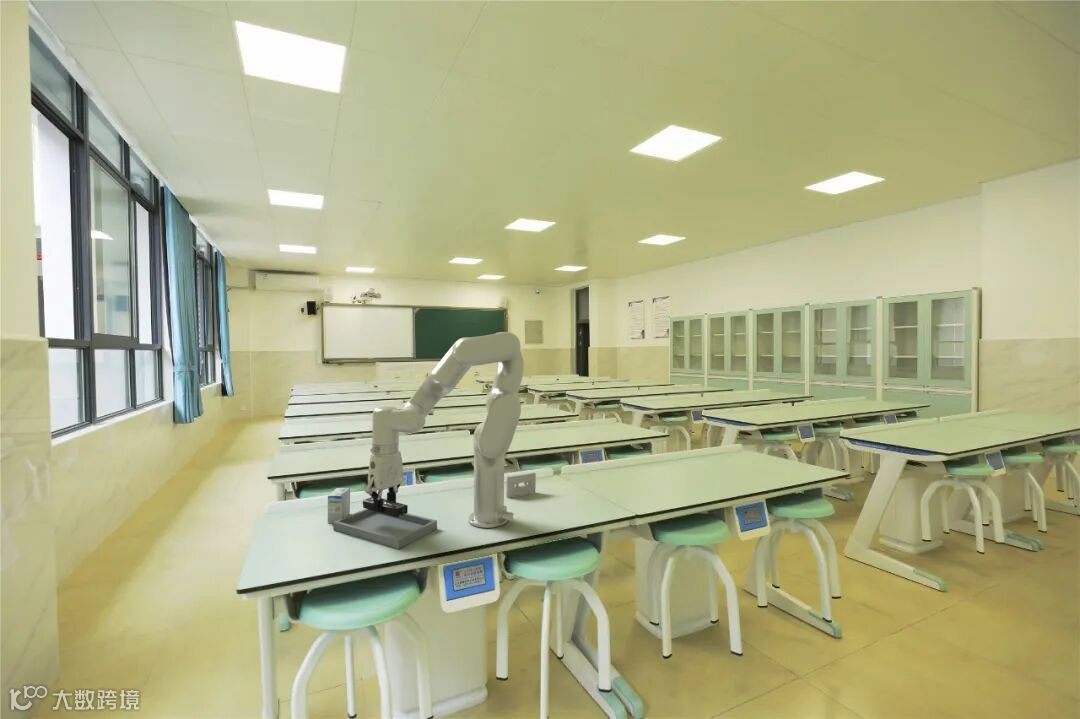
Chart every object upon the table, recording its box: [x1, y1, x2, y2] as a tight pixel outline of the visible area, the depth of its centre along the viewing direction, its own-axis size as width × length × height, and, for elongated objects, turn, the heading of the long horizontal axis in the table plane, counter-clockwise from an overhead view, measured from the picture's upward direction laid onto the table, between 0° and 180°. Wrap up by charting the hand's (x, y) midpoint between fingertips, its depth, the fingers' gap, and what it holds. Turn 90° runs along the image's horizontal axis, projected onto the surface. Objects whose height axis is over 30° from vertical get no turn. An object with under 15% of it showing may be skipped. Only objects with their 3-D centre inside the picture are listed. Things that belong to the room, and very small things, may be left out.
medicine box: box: [327, 487, 351, 524], centre depth 148 cm, size 8×4×9 cm, turn 5°
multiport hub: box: [362, 496, 409, 517], centre depth 140 cm, size 4×14×2 cm, turn 61°
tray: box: [332, 508, 438, 551], centre depth 140 cm, size 26×16×2 cm, turn 63°
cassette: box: [505, 472, 537, 499], centre depth 173 cm, size 12×2×8 cm, turn 121°
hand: (384, 508), depth 140 cm, fingers closed on multiport hub, 4 cm apart
